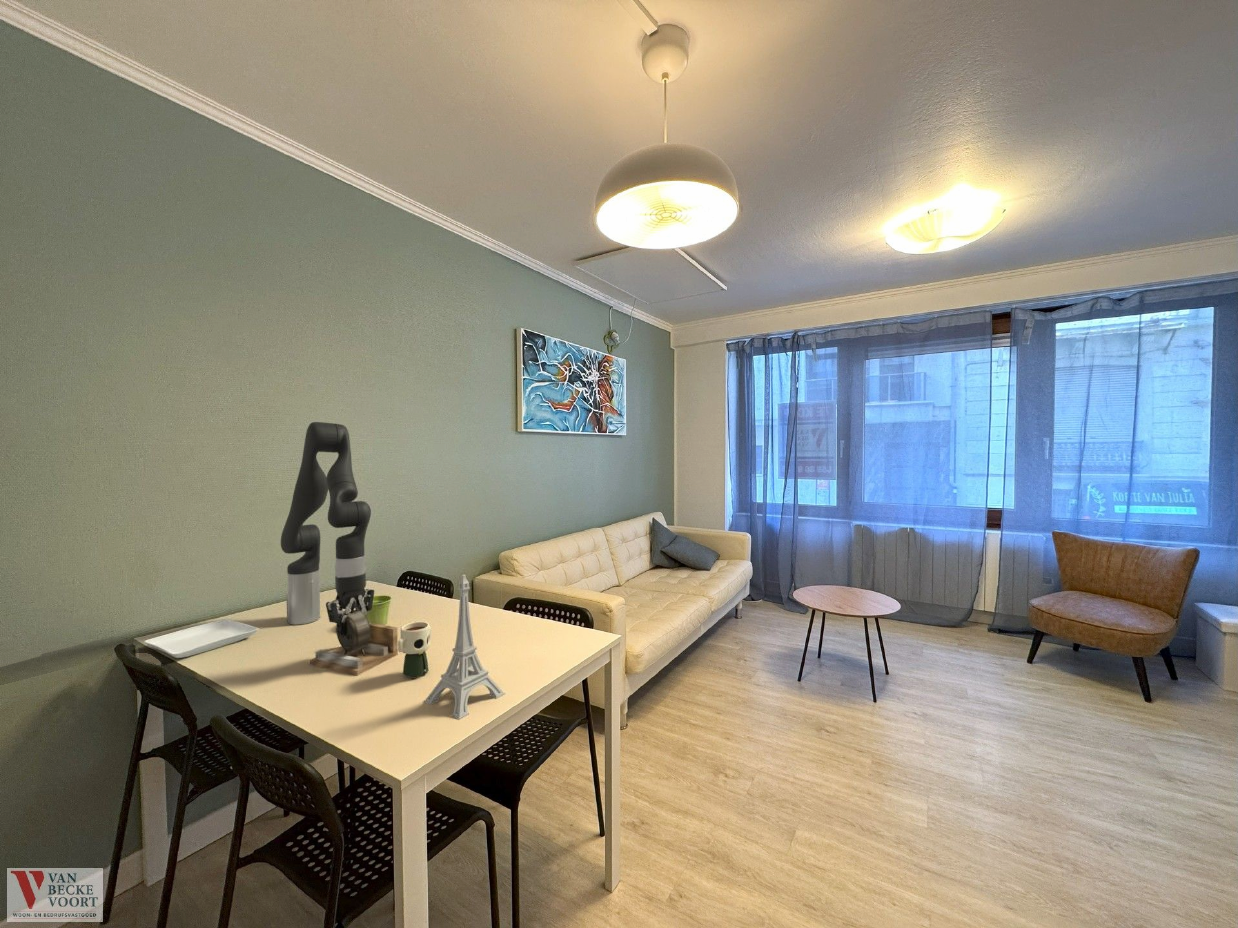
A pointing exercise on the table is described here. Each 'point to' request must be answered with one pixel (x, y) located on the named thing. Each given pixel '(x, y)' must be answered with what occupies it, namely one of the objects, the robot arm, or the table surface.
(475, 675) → the eiffel tower
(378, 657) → the track board
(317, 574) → the robot arm
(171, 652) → the salad plate
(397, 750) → the table surface
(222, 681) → the table surface
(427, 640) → the character mug
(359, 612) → the alarm clock
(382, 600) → the plant pot
